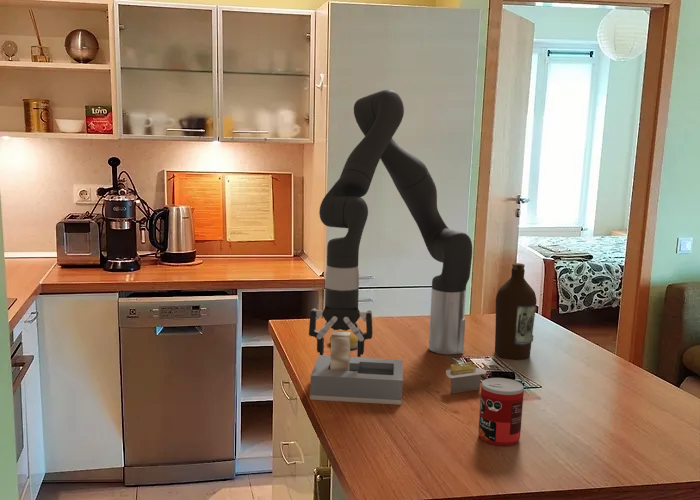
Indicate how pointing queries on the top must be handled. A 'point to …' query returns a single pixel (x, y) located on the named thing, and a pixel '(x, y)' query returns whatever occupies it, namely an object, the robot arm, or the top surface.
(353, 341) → the bread roll
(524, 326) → the olive oil
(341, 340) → the maple peg
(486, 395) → the canned food
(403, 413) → the top surface
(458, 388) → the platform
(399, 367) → the keyhole plate
